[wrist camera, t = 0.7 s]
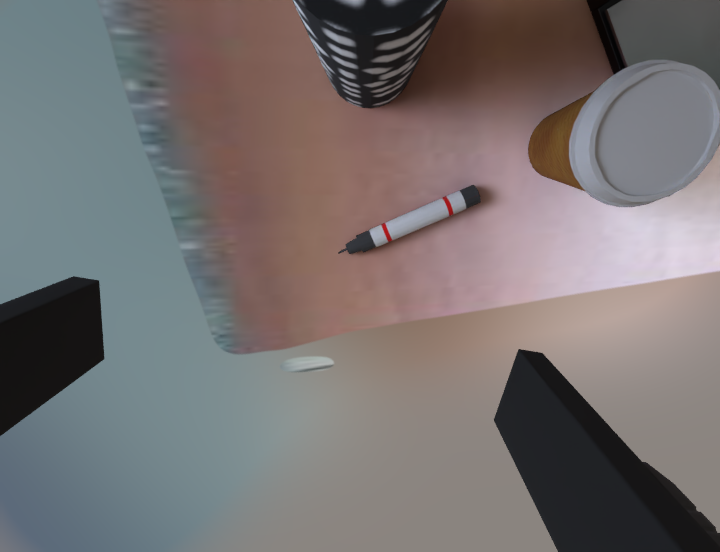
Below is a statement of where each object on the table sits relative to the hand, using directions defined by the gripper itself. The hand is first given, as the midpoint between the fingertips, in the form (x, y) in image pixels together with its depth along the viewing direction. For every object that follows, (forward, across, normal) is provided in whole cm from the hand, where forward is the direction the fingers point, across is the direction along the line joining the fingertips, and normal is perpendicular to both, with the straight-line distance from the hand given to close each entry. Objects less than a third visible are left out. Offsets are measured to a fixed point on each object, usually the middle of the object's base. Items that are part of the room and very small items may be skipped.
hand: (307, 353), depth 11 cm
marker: (+28, +6, +1) cm, 28 cm away
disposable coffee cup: (+28, +19, +11) cm, 35 cm away
